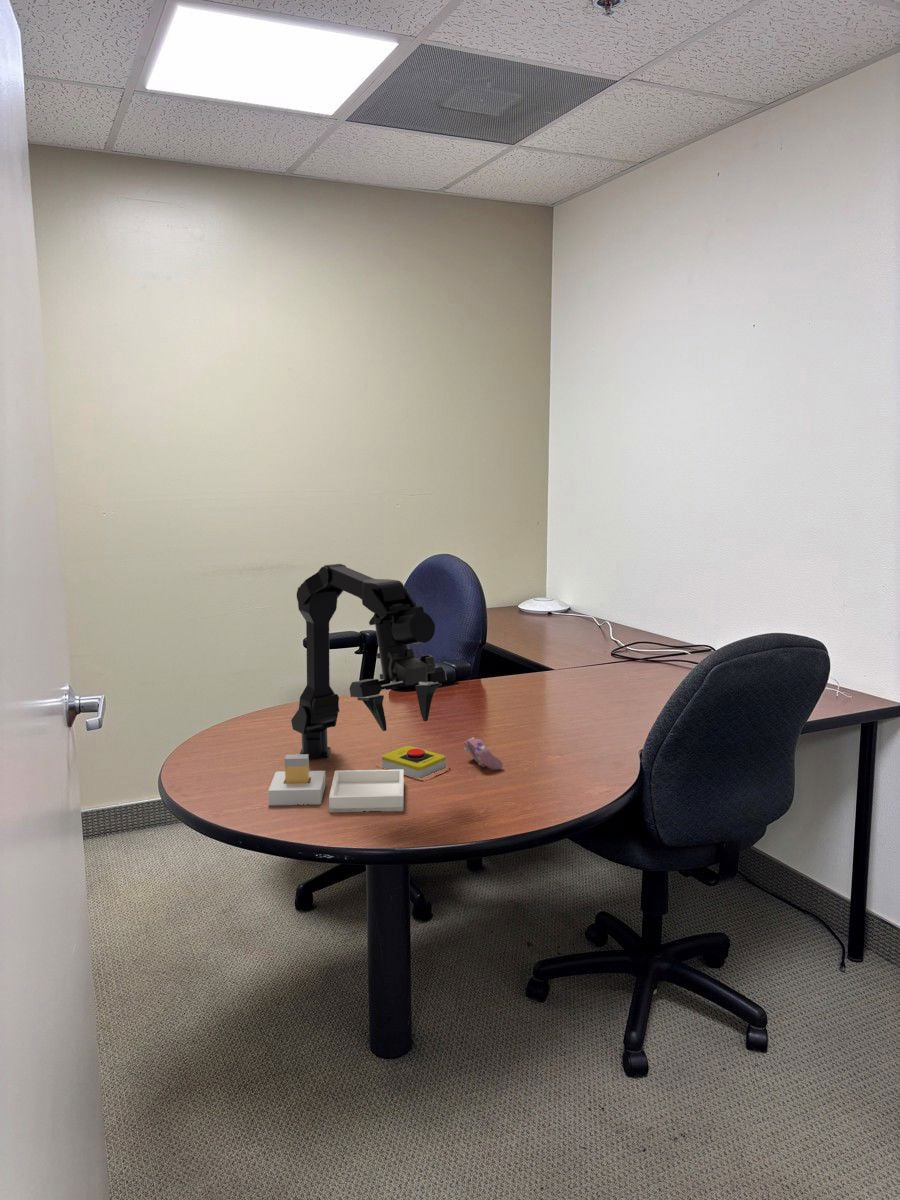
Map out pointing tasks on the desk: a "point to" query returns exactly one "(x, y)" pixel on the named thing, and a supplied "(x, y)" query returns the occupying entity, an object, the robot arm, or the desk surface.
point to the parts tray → (367, 790)
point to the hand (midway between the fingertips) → (405, 725)
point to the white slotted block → (297, 790)
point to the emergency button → (414, 761)
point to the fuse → (297, 768)
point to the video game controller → (482, 754)
